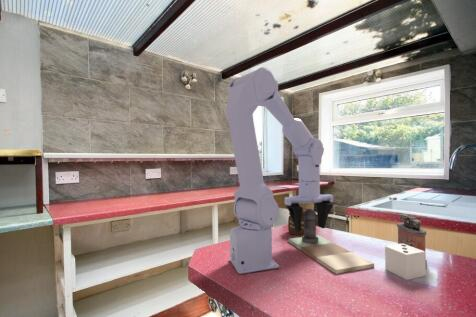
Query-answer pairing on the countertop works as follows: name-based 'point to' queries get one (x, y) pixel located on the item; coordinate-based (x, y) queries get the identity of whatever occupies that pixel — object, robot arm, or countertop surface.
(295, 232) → the utensil holder
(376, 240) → the countertop surface
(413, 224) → the lighter
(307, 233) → the pawn
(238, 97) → the robot arm
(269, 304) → the countertop surface
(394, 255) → the die
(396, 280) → the countertop surface
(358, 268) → the board
